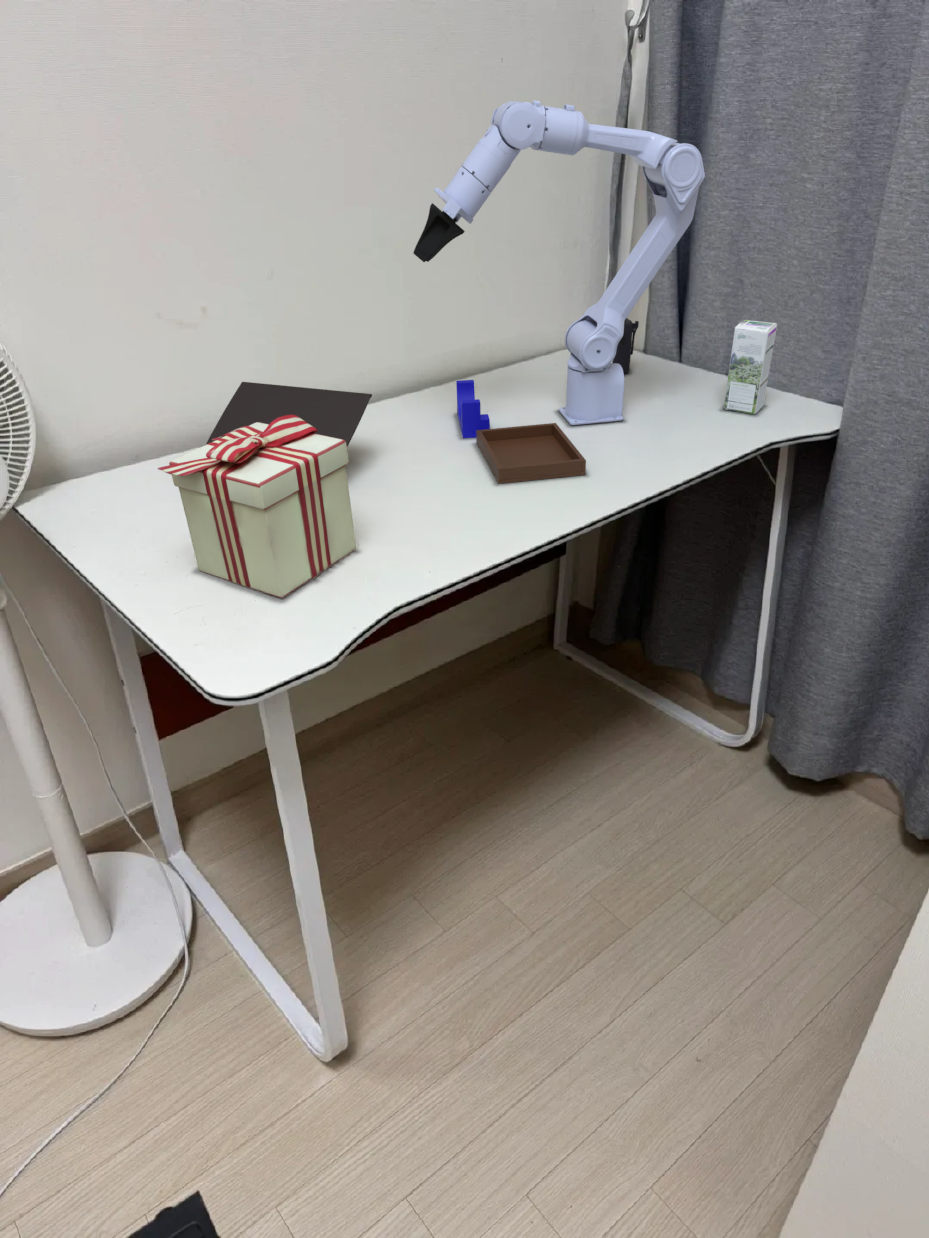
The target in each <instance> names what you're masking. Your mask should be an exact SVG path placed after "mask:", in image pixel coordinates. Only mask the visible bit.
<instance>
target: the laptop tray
mask: <svg viewBox="0 0 929 1238" xmlns="http://www.w3.org/2000/svg"><path fill="white" fill-rule="evenodd" d="M372 397H373V394H372V393H366V392H354V391H344V390H333V389H324V388H313V387H312V388H311V387H302V386H293V385H292V386H291V385H281V384H270V383H260V382H252V381H251V382H249V381H241V383H240V384H239V386H238V387H237V389H236V391H235V392H234V394H233V395H232V397H231V398H230V400H229V402H228V403H227V406H226V407H225V409H224V410H223V412H222V414H221V416H220V418H219V419H218V421H217V423H216V424H215V426H214V428H213V430H212V432H211V434H210V435H209V437H208V439H207V441H206V443H205V445H207V444H209V443H211V442H213V441H215V440H212V439H214V438H218V437H221V436H222V435H224V434H227V433H229V432H231V431H233V430H236V429H238V428H241V427H244V426H249V425H251V424H254V423H256V422H259V423H264V424H270V423H271V422H272V421H274V420H275V419H277V418H279V417H282V416H286V415H296V416H298V417H299V418H301V419H302V420H304V421H305V422H307V423H308V424H310V425H311V426H313V427H314V428H316V429H317V430H318V431H317V432H315V434H318V435H323V436H328V437H333V438H338V439H343V440H345V441H346V446H347V448H348V447H349V445H350V443H351V441H352V439H353V437H354V435H355V433H356V431H357V429H358V427H359V424H360V422H361V420H362V418H363V416H364V413H365V412H366V409H367V406H368V404H369V402H370V400H371V398H372Z"/></svg>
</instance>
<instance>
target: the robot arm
mask: <svg viewBox="0 0 929 1238" xmlns="http://www.w3.org/2000/svg"><path fill="white" fill-rule="evenodd" d="M575 109H576V106H575V105H572V104H567V103H566V104H564V105H563V108H561V107H556V106H549V105H543V104H542V102H541V101H540V100H535V99H533V100H532V102H529V101H525V102H523V101H519V100H518V101H517V100H509V101H506V102H505V103H502V104H501V105H500V106H499V107H498V108H495V109H494V111H493V114H492V115H491V120H490V126H489V127H488V128H487V130H486V132H485V133H484V134H483V136H482V137H481V138H480V139H479V140H478V141H477V143H476V144H475V145H474V146H473V148H472V150H471V151H470V153H469V154H468V156H467V157H466V159H465V160H464V161H463V163H462V164H461V165H460V167H459V168H458V169H457V171H456V173H455V174H454V175H453V177H452V178H451V180H450V181H449V183H448V184H447V185H446V187H445V189H443V191H442V190H441V189H440V188H438V187H437V186H435V188H434V190H433V192H434V193H436V194H437V195H438V197H439V198H440V199H441V200H442V201H443V202H444V203H445V205H444V206H443V208H442V210H441V209H440V208H439V207H438V206H436V205H435V204H434V203H433V202H432V203H431V204H430V206H429V210H428V216H427V219H426V223H425V225H424V228H423V230H422V233H421V234H420V236H419V239H418V241H417V243H416V244H415V248H414V250H413V253H412V254H413V255H414V256H416V257H417V258H418V259H419V260H421V262H423V263H425V262H427V263H428V262H430V261H431V260H432V259H434V258H435V257H436V256H437V254H439V253H440V252H441V251H442V250H443V248H445V247H446V246H447V245H448V244H450V243H451V242H452V241H453V240H454V239H456V238H459V236H462V235H463V234H464V233H465V230H464V229H463V228H462V227H461V226H459V224H457V223H459V221H460V220H461V218H462V219H463V220H465V221H466V222H467V223H468V224H472V223H473V222H474V217H476V215H477V214H478V213H479V211H480V209H481V208H482V206H483V205H484V204H485V203H486V201H487V200H488V198H489V197H490V195H491V194H492V193H493V191H494V190H495V188H496V187H497V185H499V183H500V181H501V180H502V179H503V177H504V176H505V175H506V173H508V171H509V169H510V167H511V166H512V164H513V162H514V161H515V160H516V158H517V157H518V155H519V154H520V153H521V151H522V150H527V149H528V148H530V149H531V150H533V151H539V152H547V153H553V154H558V155H559V154H560V155H566V156H575V155H576V154H577V153H579V152H580V151H581V150H582V149H584V148H589V149H595V150H600V151H605V152H611V153H617V154H622V155H627V156H629V157H630V158H631V160H632V161H633V162H634V164H635V165H637V166H640V167H641V172H642V175H643V178H644V179H645V181H646V183H647V185H648V187H649V189H650V191H651V192H652V196H653V201H654V207H655V215H654V217H653V218H652V220H651V221H650V223H649V224H648V226H647V227H646V229H645V230H644V231H643V233H642V235H641V236H640V238H639V240H638V241H637V242H636V244H635V246H634V247H633V248H632V250H631V252H630V253H629V255H628V256H627V257H626V259H625V260H624V262H623V263H622V265H621V266H620V268H619V270H618V271H617V273H616V274H615V276H614V277H613V279H612V280H611V282H610V283H609V284H608V286H607V288H606V289H605V290H604V293H603V294H602V296H601V297H600V298H599V300H598V301H597V302H596V303H594V304H593V305H590V306H589V307H588V308H587V309H586V310H585V311H584V312H583V314H582V315H581V316H580V318H578V319H577V320H575V321H573V322H572V323H571V324H570V325H569V326H568V328H567V329H566V331H565V334H564V345H565V347H566V350H567V351H568V352H569V353H570V356H569V357H568V360H567V367H566V368H567V369H566V370H567V372H566V392H565V393H566V396H565V406H563V407H559V408H558V412H559V413H560V414H561V415H562V416H563V418H564V419H565V420H566V421H567V423H568V424H569V425H570V426H579V425H589V424H600V423H612V422H621V421H624V417H623V409H624V408H623V407H624V398H625V397H624V395H625V394H624V393H625V374H624V373H623V369H622V367H621V365H620V364H617V363H612V362H613V359H614V357H615V354H616V349H617V346H618V343H619V341H620V340H621V338H622V337H623V333H624V321H625V319H626V318H627V319H628V316H629V315H630V314H631V312H632V310H633V309H634V308H635V306H636V304H637V303H638V301H639V300H640V299H641V297H642V296H643V294H644V293H645V291H646V290H647V288H648V287H649V286H650V284H651V282H652V281H653V280H654V278H655V276H656V275H657V273H658V272H659V271H660V269H661V268H662V266H663V264H664V263H665V262H666V261H667V259H668V257H669V256H670V254H671V253H672V252H673V250H674V249H675V248H676V245H678V243H679V241H680V240H681V238H682V237H683V236H684V234H685V232H686V231H687V229H688V228H689V227H690V225H691V223H692V221H693V220H694V215H695V210H696V205H697V201H698V195H699V190H700V186H701V184H702V183H703V181H704V179H705V178H706V174H705V168H704V161H703V157H702V154H701V152H700V151H699V149H698V148H697V147H696V146H695V145H693V144H692V143H688V142H687V143H685V142H683V143H680V142H678V140H676V139H675V138H671V137H668V136H665V135H663V134H659V133H657V132H652V131H648V130H644V129H643V130H642V129H635V128H627V127H620V126H613V125H603V124H595V123H589V122H588V120H587V119H586V117H585V116H584V114H583V112H581V111H580V110H575Z"/></svg>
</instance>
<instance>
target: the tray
mask: <svg viewBox="0 0 929 1238" xmlns="http://www.w3.org/2000/svg"><path fill="white" fill-rule="evenodd" d="M475 440H476V441H475V442H476V443H475V444H476V446H477V448H478V449H479V452H480V453H481V455H482V457H483V459H484V460H485V462H486V464H487V466H488V468H489V470H490V471H491V473H492V475H493V477H494V479H495V481H496V482H497V484H498V485H502V484H503V485H504V484H511V483H520V482H521V483H522V482H533V481H540V480H550V479H558V478H559V479H560V478H570V477H579V476H585V475H586V470H587V469H586V468H587V460H586V458H585V457H584V456H583V454H582V453H581V452H580V451H579V450H578V448H577V447H576V446H575V445H574V443H573V442H572V441H571V439H570V438H569V437H568V436H567V435H566V433H565V432H564V431H563V429H561V427H560V426H559V424H557V423H556V422H550V423H539V424H530V425H529V424H528V425H527V424H526V425H519V426H507V427H496V428H490V429H485V430H476V438H475Z"/></svg>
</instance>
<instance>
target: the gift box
mask: <svg viewBox="0 0 929 1238" xmlns="http://www.w3.org/2000/svg"><path fill="white" fill-rule="evenodd" d="M317 431H318V430H317V429H316V428H314V427H313V426H311V425H310V424H308V423H307V422H305V421H304V420H302V419H301V418H299V417H298V416H296V415H286V416H282V417H279V418H277V419H275V420H274V421H272V422H271V423H270V424H264V423H259V422H256V423H254V424H251V425H249V426H244V427H241V428H238V429H236V430H233V431H231V432H229V433H227V434H224V435H222V436H221V437H218V438H214V439H212V440H215V441H213V442H211V443H209V444H207V445H206V444H205V445H203V446H201V447H199V448H196V449H194V450H191V451H189V452H188V453H185V454H183V455H181V456H178V457H176V458H174V459H172V460H170V461H169V462H168V464H169V465H164V466H160V467H157V470H159V471H161V472H164V473H166V474H168V475H171V479H172V482H173V483H172V484H173V485H174V487H177V488H178V491H179V495H180V499H181V503H182V507H183V512H184V515H185V519H186V524H187V527H188V532H189V537H190V540H191V545H192V549H193V552H194V558H195V562H196V565H197V569H198V571H199V572H202V573H204V574H208V575H211V576H214V577H217V578H218V579H219V578H220V579H222V580H226V581H229V582H231V583H233V584H237V585H240V586H243V587H246V588H249V589H253V590H255V591H259V592H261V593H264V594H267V595H271V596H275V597H277V598H281V599H283V598H284V597H287V596H288V595H289V594H291V593H292V592H294V591H295V590H297V589H298V588H299V587H301V586H303V585H304V584H306V583H307V582H309V581H310V580H311V579H314V578H316V577H317V576H318V575H319V574H321V573H322V572H323V571H325V570H327V569H329V568H330V567H331V566H332V565H333V564H336V562H338V561H339V560H342V559H343V558H344V557H346V556H347V555H348V554H349V553H351V552H353V551H354V550H356V548H357V542H356V535H355V527H354V520H353V519H354V518H353V513H352V512H353V511H352V505H351V496H350V489H349V482H348V476H347V465H349V464H350V460H349V454H348V447H347V446H346V441H345V440H343V439H338V438H333V437H328V436H323V435H318V434H315V432H317Z"/></svg>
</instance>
